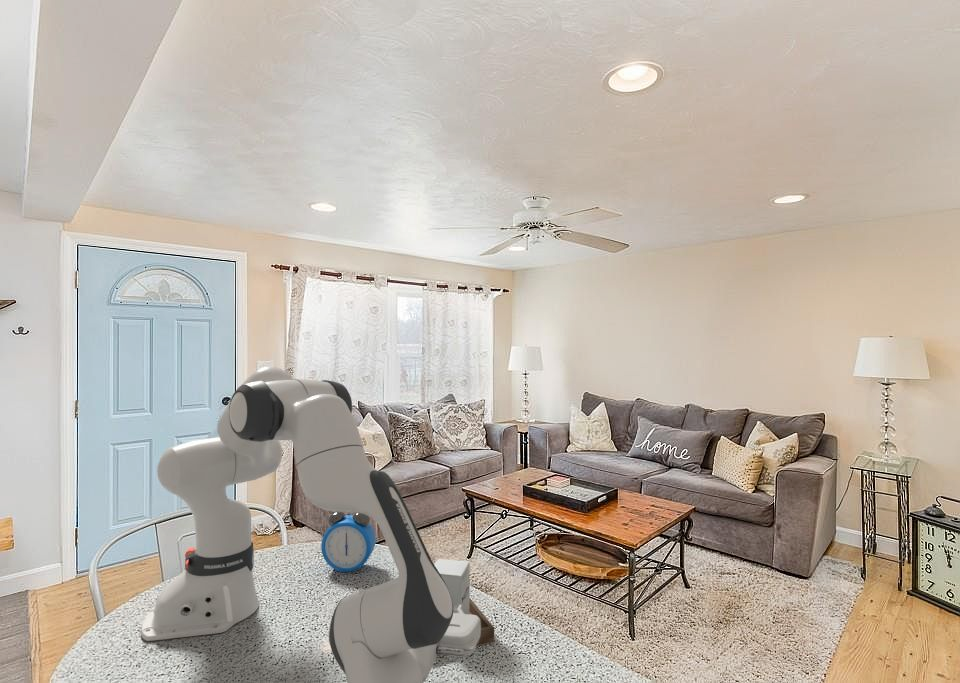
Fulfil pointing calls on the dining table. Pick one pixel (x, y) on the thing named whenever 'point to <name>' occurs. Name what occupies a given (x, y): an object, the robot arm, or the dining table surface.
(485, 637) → the tray
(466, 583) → the supplement box
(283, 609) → the dining table surface
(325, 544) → the alarm clock
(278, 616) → the dining table surface
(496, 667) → the dining table surface
